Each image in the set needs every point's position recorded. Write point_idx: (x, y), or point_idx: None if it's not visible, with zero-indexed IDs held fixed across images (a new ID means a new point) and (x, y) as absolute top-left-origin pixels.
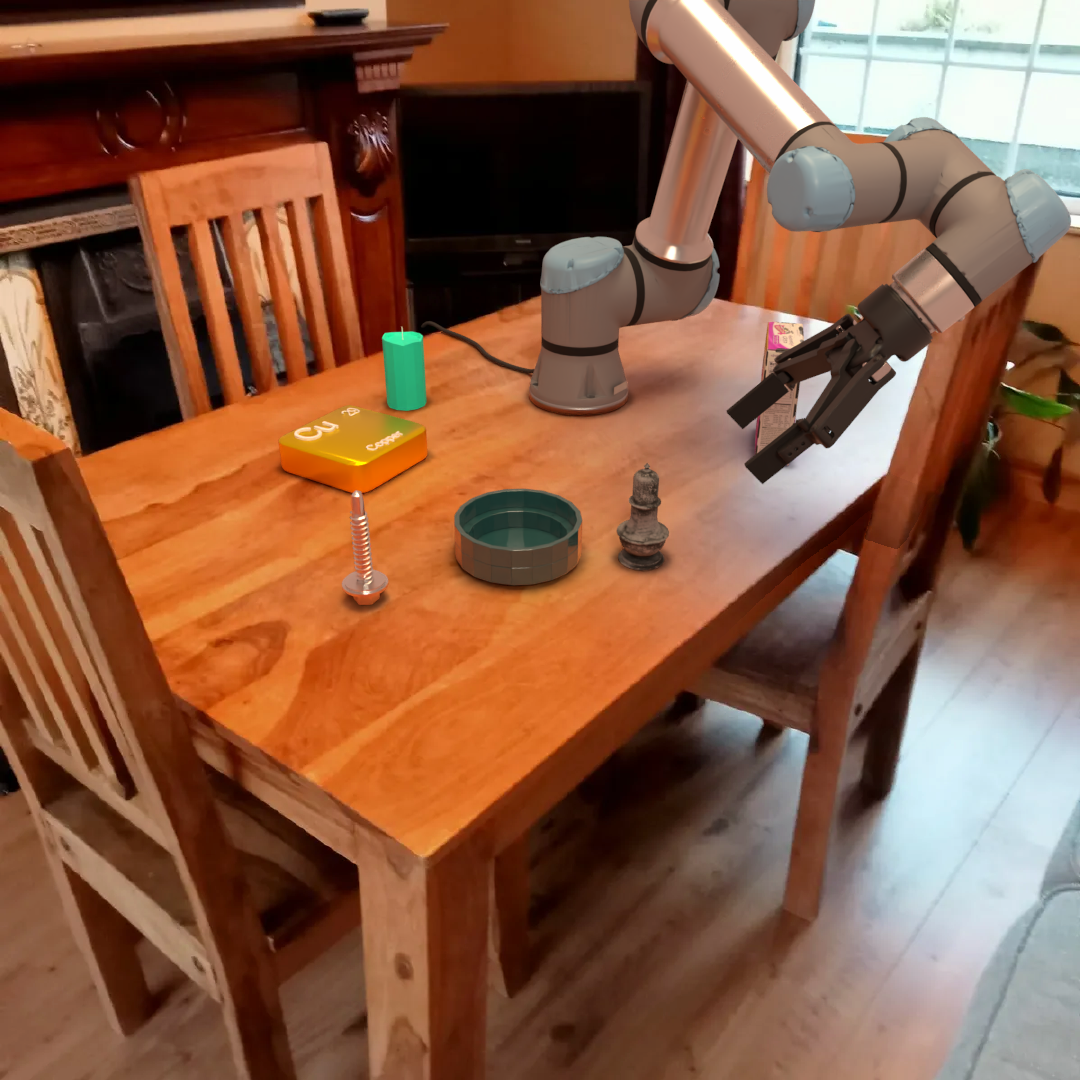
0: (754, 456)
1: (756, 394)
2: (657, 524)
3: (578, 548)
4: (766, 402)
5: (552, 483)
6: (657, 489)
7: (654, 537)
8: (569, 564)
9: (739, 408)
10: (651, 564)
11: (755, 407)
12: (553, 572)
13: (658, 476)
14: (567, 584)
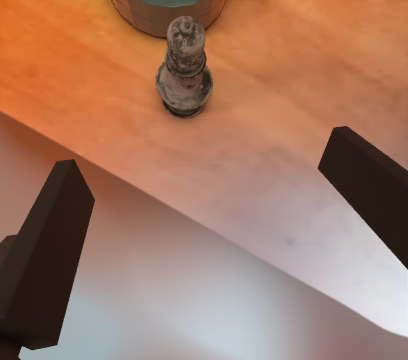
0: (61, 177)
1: (383, 182)
2: (181, 91)
3: (154, 24)
4: (370, 210)
5: (314, 5)
6: (179, 61)
7: (167, 92)
8: (138, 23)
9: (346, 150)
10: (168, 105)
11: (355, 185)
12: (119, 9)
13: (186, 50)
14: (126, 32)
